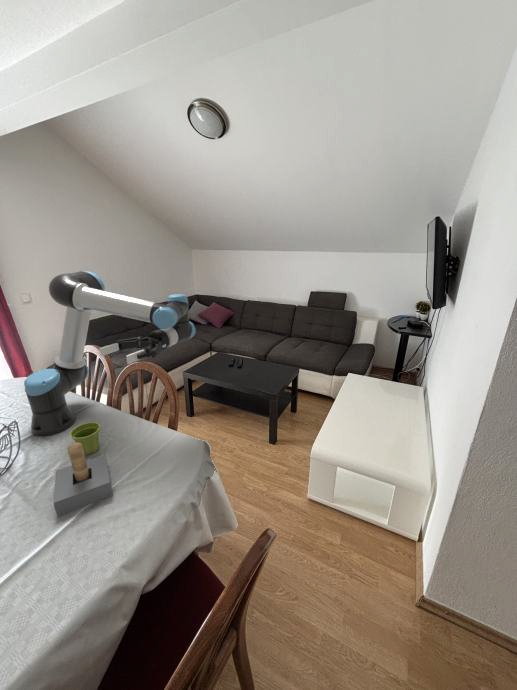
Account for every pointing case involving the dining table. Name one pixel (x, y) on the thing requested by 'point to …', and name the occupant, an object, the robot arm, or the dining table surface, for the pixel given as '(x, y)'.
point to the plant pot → (87, 436)
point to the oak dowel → (78, 462)
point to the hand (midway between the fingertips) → (113, 355)
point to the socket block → (81, 486)
